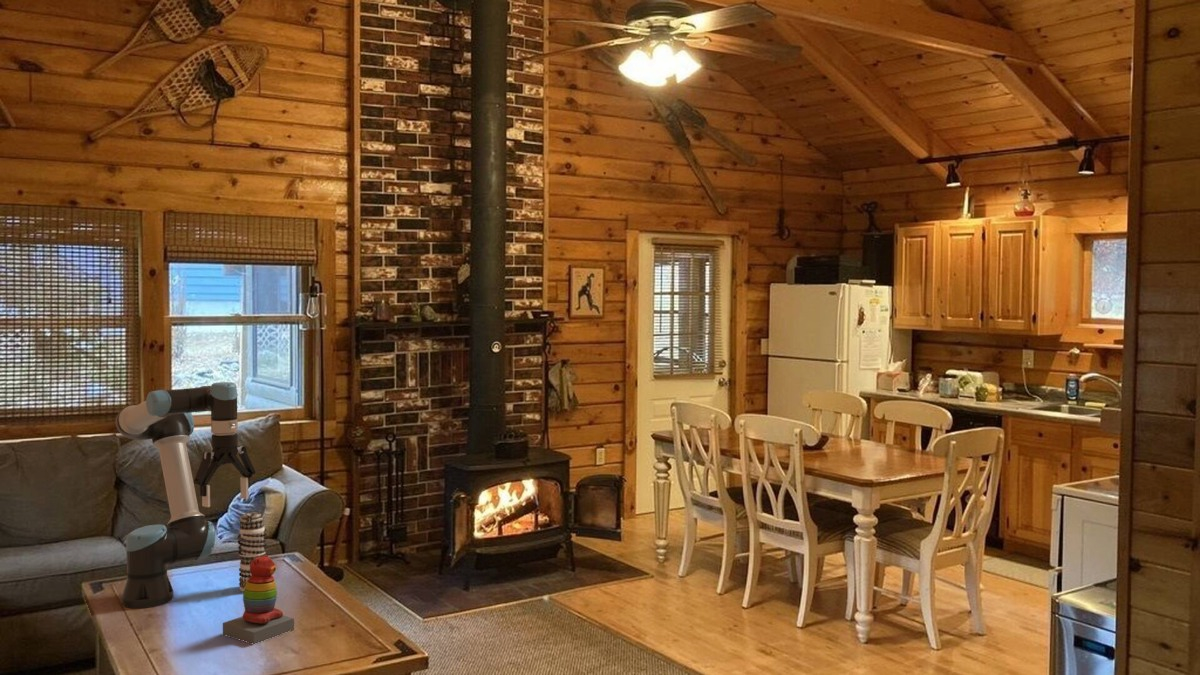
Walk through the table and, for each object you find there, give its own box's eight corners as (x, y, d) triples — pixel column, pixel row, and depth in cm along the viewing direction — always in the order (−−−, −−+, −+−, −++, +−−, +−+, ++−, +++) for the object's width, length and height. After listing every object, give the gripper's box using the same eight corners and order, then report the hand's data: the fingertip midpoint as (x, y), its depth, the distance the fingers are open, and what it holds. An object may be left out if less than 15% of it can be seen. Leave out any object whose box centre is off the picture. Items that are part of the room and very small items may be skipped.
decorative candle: (273, 586, 329) (272, 513, 327) (250, 594, 321) (249, 518, 319) (255, 582, 334) (254, 509, 332) (232, 589, 326) (231, 514, 324)
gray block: (222, 636, 284) (222, 622, 284) (263, 622, 296) (262, 609, 295) (254, 646, 276) (253, 632, 276) (294, 631, 288) (293, 618, 288)
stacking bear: (263, 624, 280) (266, 561, 280) (233, 619, 283) (236, 558, 283) (285, 615, 290) (289, 555, 291) (256, 611, 293) (260, 551, 294)
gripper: (195, 439, 286) (197, 511, 287) (266, 429, 307) (267, 496, 308) (180, 437, 290) (181, 508, 291) (250, 427, 311) (251, 493, 312)
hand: (225, 502), depth 300 cm, fingers open, 13 cm apart
